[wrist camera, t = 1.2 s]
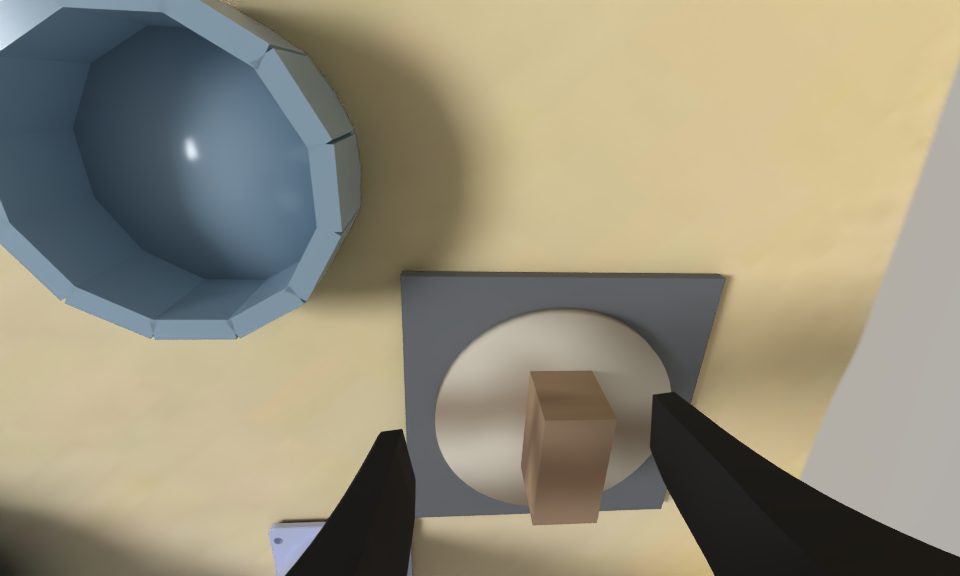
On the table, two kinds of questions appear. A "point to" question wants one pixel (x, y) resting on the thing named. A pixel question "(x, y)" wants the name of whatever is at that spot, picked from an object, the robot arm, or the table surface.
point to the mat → (501, 295)
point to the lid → (550, 411)
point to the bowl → (169, 163)
